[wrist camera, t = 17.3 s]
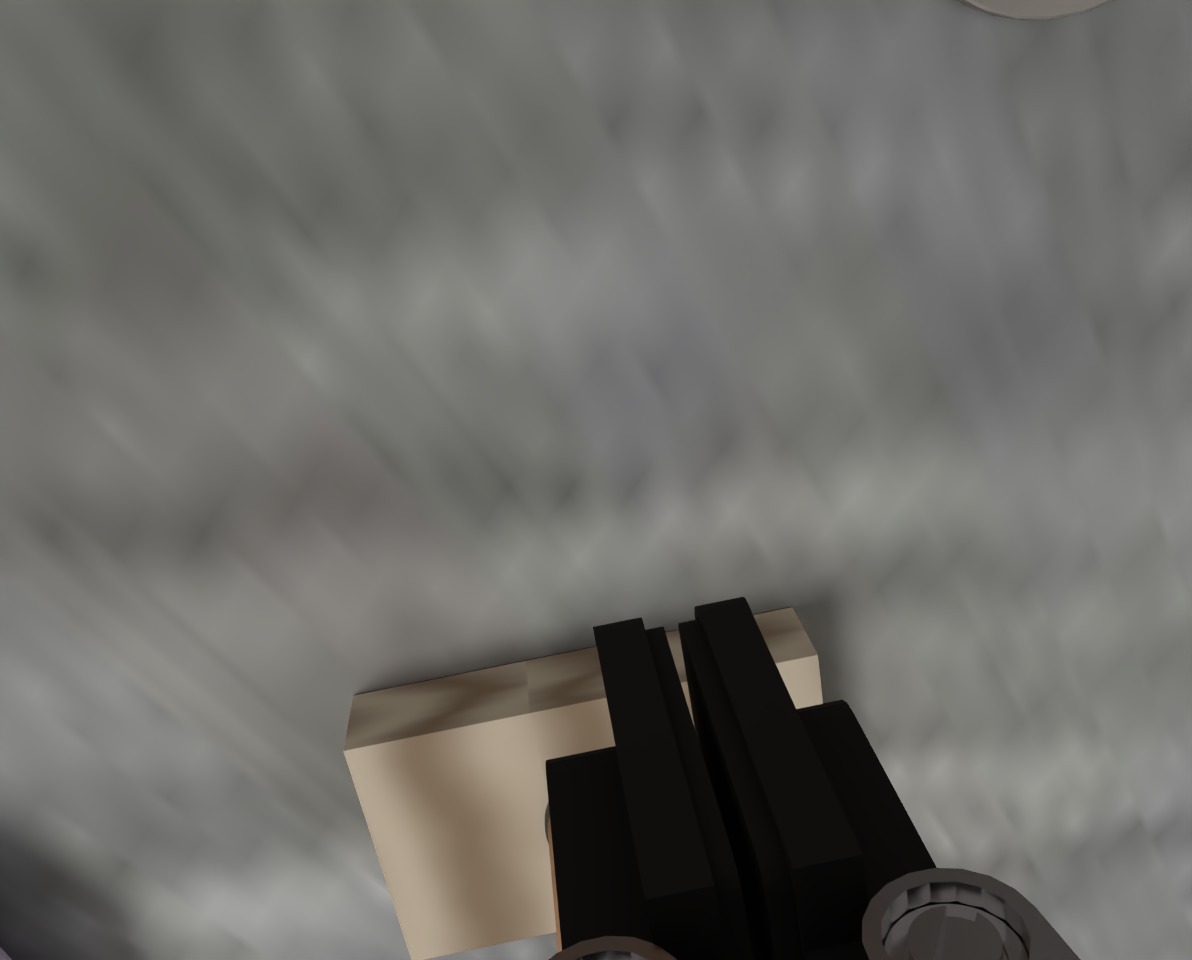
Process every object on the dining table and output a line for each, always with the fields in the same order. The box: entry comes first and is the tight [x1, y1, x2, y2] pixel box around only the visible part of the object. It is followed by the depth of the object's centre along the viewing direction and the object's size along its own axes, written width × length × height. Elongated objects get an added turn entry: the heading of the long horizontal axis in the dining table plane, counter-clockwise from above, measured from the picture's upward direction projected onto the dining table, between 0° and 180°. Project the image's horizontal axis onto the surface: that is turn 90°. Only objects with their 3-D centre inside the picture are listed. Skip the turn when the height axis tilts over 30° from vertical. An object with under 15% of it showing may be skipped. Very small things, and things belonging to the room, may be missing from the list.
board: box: [344, 607, 823, 960], centre depth 49 cm, size 20×12×4 cm, turn 100°
